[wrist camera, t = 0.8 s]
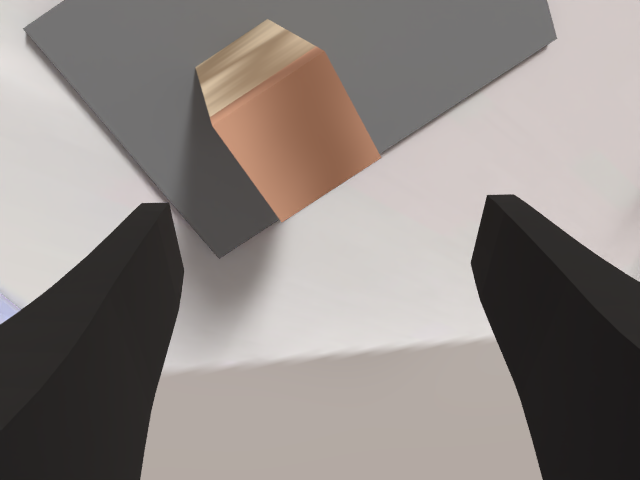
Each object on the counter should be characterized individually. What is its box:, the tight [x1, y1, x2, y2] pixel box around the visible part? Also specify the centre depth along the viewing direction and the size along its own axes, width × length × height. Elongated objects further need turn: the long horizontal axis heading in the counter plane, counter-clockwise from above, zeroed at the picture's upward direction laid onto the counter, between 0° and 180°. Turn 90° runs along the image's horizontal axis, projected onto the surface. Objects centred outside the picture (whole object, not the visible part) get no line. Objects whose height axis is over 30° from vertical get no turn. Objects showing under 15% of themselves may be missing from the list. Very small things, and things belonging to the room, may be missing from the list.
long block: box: [195, 19, 381, 222], centre depth 21 cm, size 4×4×10 cm
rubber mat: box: [23, 0, 557, 258], centre depth 25 cm, size 22×14×1 cm, turn 121°
